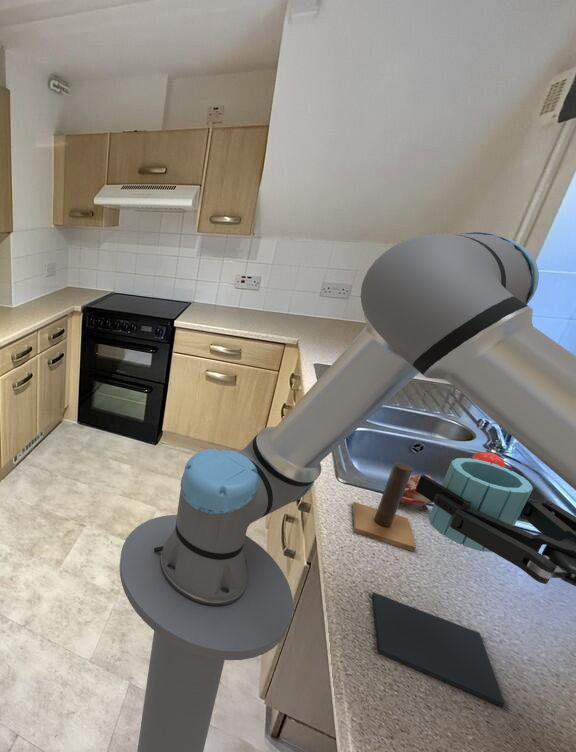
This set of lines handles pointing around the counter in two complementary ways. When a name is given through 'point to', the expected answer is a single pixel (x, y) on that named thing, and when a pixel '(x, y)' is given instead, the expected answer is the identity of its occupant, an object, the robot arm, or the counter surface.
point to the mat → (435, 647)
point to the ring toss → (387, 512)
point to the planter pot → (482, 495)
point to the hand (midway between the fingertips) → (444, 480)
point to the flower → (414, 493)
